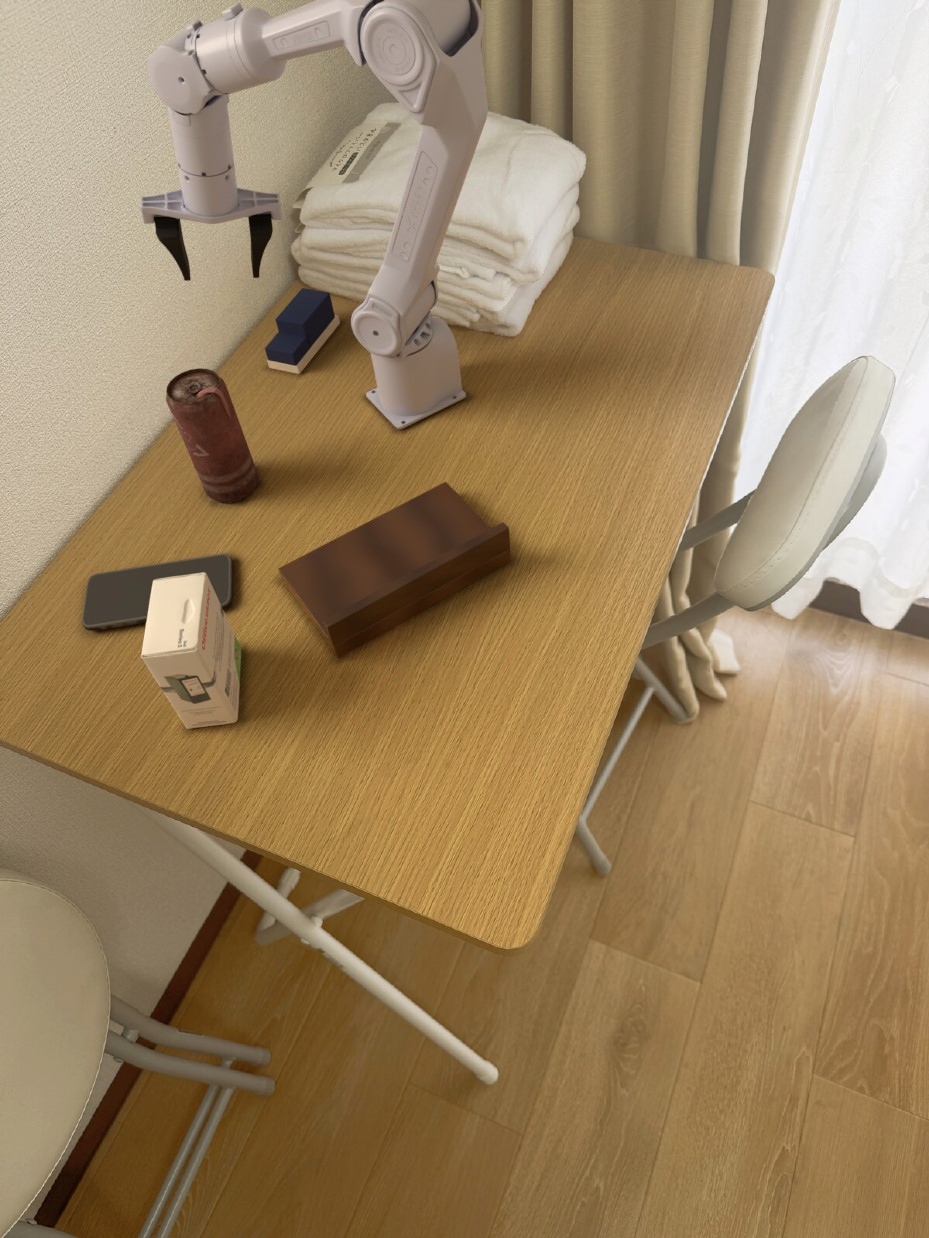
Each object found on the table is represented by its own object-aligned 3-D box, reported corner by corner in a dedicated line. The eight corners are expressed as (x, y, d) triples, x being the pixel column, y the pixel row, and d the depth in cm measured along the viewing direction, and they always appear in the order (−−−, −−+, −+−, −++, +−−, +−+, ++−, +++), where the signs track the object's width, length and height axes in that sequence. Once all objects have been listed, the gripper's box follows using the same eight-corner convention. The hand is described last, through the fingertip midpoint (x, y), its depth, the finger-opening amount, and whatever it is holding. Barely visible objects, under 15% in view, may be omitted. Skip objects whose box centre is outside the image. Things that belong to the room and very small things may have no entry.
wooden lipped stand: (447, 494, 98) (442, 460, 95) (511, 561, 92) (509, 527, 88) (282, 581, 93) (270, 548, 89) (338, 659, 86) (327, 627, 82)
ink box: (193, 654, 88) (149, 576, 79) (244, 648, 88) (206, 569, 79) (185, 730, 83) (137, 656, 74) (239, 724, 83) (198, 649, 74)
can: (251, 507, 100) (212, 406, 89) (197, 502, 101) (152, 402, 90) (269, 469, 103) (234, 367, 92) (217, 464, 104) (176, 363, 93)
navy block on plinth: (310, 317, 121) (302, 285, 117) (340, 323, 119) (332, 290, 115) (269, 368, 115) (259, 335, 111) (299, 374, 113) (290, 341, 110)
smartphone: (231, 605, 90) (79, 629, 90) (233, 610, 91) (83, 635, 91) (231, 550, 95) (86, 573, 94) (234, 556, 96) (90, 579, 95)
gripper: (273, 138, 97) (282, 249, 109) (131, 139, 95) (155, 254, 106) (279, 176, 94) (287, 288, 105) (132, 179, 91) (156, 293, 102)
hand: (221, 274), depth 105 cm, fingers open, 7 cm apart
